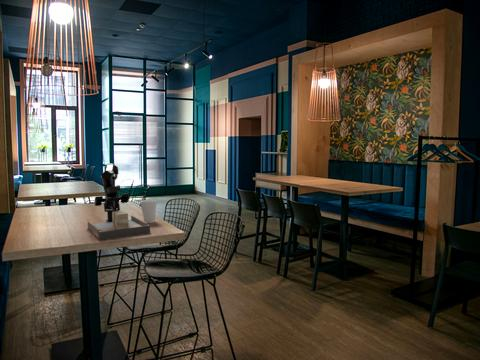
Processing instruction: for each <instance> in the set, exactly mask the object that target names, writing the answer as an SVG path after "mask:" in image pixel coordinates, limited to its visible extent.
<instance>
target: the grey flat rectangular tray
mask: <svg viewBox="0 0 480 360" xmlns="http://www.w3.org/2000/svg"><path fill="white" fill-rule="evenodd" d="M128 224H129V228H125V229H117V230H115V229H114V228H113V221H112V222H108V221H107V222H101V223H95V224H94V223H93V222H92V221H91V220H87V229H88V230H89V231H90V232H91V233H92V234H93V235H94V236H95V237H96V238H97V239H98V240H99V241H104V240H110V239H117V238H118V239H119V238H124V237H132V236H137V235H143V234H144V235H145V234H150V233H151V225H150V224H149V223H146V222H144V220H142V219H140V218H138V217H137V216H135V215H130V219H128Z"/></svg>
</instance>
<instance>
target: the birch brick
mask: <svg viewBox="0 0 480 360" xmlns="http://www.w3.org/2000/svg"><path fill="white" fill-rule="evenodd" d="M128 220H129V212H127V211H125V210H120V211H115V212H112V222H113V228H114V229H115V230H117V229H125V228H129V224H128Z"/></svg>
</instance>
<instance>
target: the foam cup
mask: <svg viewBox="0 0 480 360" xmlns="http://www.w3.org/2000/svg"><path fill="white" fill-rule="evenodd" d="M157 203H158V201H157V199H143V200H140V207H141V211H142V212H141V213H142V216H143V221H144V222H146V223H148V224H151V223H156V222H155V221H156V212H157Z"/></svg>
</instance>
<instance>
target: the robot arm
mask: <svg viewBox="0 0 480 360" xmlns="http://www.w3.org/2000/svg"><path fill="white" fill-rule="evenodd" d="M118 175H119V167H118V166H117V165H116V164H115V163H106V164H105V166H104V171H103V172H102V173H101V175H100V179H101V182H102V188H103V191H104V196H105V197H104V196H103V195H99V196H95V198H94V201H93V202H94V206H95V207H99V206H102V205H103V209H104V210H103V211H104V213H106V216H107V217H106V219H105V220H106V222H107V223H108V222H113V221H112V212H115V211H121V206H120V203H121V204H127V203H129V200H130V195H129V193H121V195H120V196H118V192H121V186H120V184H119V185H118V184H117V185H116V180H117V179H118Z"/></svg>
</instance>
